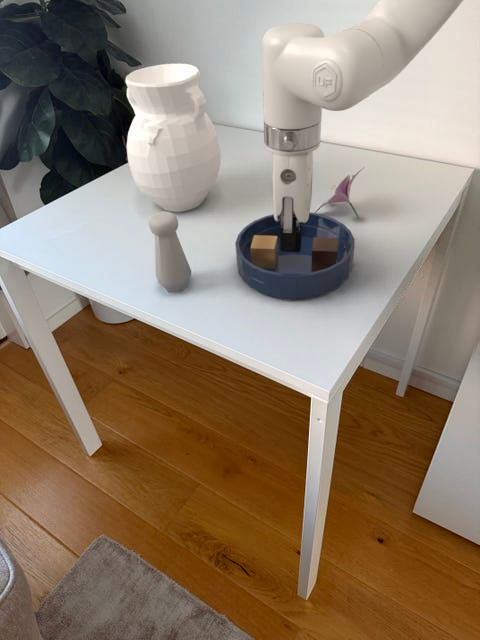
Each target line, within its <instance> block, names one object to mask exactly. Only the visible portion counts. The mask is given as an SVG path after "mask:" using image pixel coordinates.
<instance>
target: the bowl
mask: <svg viewBox="0 0 480 640" xmlns="http://www.w3.org/2000/svg"><path fill="white" fill-rule="evenodd" d="M300 225H302V241H301V251H300V252H282V251H281V250H280V228H281V218H280V220H279V221H278V222H277V221H276V220H275V219H274V213H272V214H268V215H265V216H263V217H260V218H258V219H256V220H254V221H251V222H250V223H249V224H247V225H246V226H245V227H243V229H241V231H239V233H238V234H237V237H236V239H235V255H236V266H237V273H238V275H239V277H240V278H241V280H242V282H243V283H245V284H246V286H248V287H250V288H251V289H253V290H254V291H255V292H257V293H260V294H261V295H264V296H267V297H269V298H273V299H279V300H286V301H299V300H300V301H301V300H303V301H304V300H310V299H315V298H319V297H322V296H325V295H327V294H329V293H331V292H333V291H335V290H336V289H338V288H340V287H341V286H342V285H343V284H344V283H345V282H346V281H347V280H348V279H349V277H350V276H351V273H352V271H353V267H354V258H355V257H354V256H355V249H356V248H355V243H356V242H355V240H356V239H355V236H354V235H353V233H352V231H351V230H350V229H349V228H348V227H347V226H346V225H345V224H344V223H343V222H340V221H339V220H337V219H336V218H333V217H331V216H327V215H324V214H321V213H317V212H316V213H315V212H310V213H309V219H308V221H307V222H306V223H303V222H301V224H300ZM254 235H264V236H278V258H277V262H276V267H275V269H264V268H260V267H257V266H255V265H253V264H252V263H251V251H250V248H251V244H252V241H253V237H254ZM314 237H321V238H338V251H337V264H335V265H333V266H331V267H329V268H326V269H323V270H319V271H311V265H312V246H313V238H314Z"/></svg>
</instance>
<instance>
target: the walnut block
mask: <svg viewBox="0 0 480 640" xmlns="http://www.w3.org/2000/svg"><path fill="white" fill-rule="evenodd" d="M337 251H338V238H321V237H314V238H313V246H312V265H311V271H319V270H323V269H326V268H329V267H331V266H333V265H335V264H337Z"/></svg>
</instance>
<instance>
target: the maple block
mask: <svg viewBox="0 0 480 640" xmlns="http://www.w3.org/2000/svg"><path fill="white" fill-rule="evenodd" d="M250 251H251V263H252V264H253V265H255V266H257V267H260V268H264V269H275V267H276V262H277V258H278V236H264V235H254V237H253V241H252V244H251V248H250Z"/></svg>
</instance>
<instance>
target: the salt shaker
mask: <svg viewBox="0 0 480 640" xmlns="http://www.w3.org/2000/svg"><path fill="white" fill-rule="evenodd" d="M148 227H149V229H150V231H151V233H152V234H153V235H154V254H155V255H154V259H155V261H154V262H155V263H154V264H155V266H154V267H155V277H156V280H157V282H158V284H160V286H161V287H162V288H163V289H165V290H166V292H168V293H181V292H182V291H184V290H185V289H187V288H188V286H189V283H190V280H191V276H192V268H191V266H190V264H189V262H188V259H187V257H186V254H185V252H184V250H183V246H182V244H181V241H180V239H179V236H178V234H177V230H178V228H179V220H178V218H177V215H176V214H175V213H174V212H172V211H167V210H165V211H158V212H156V213H153V214H152V215H151V216H150V218H149V220H148Z"/></svg>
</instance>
